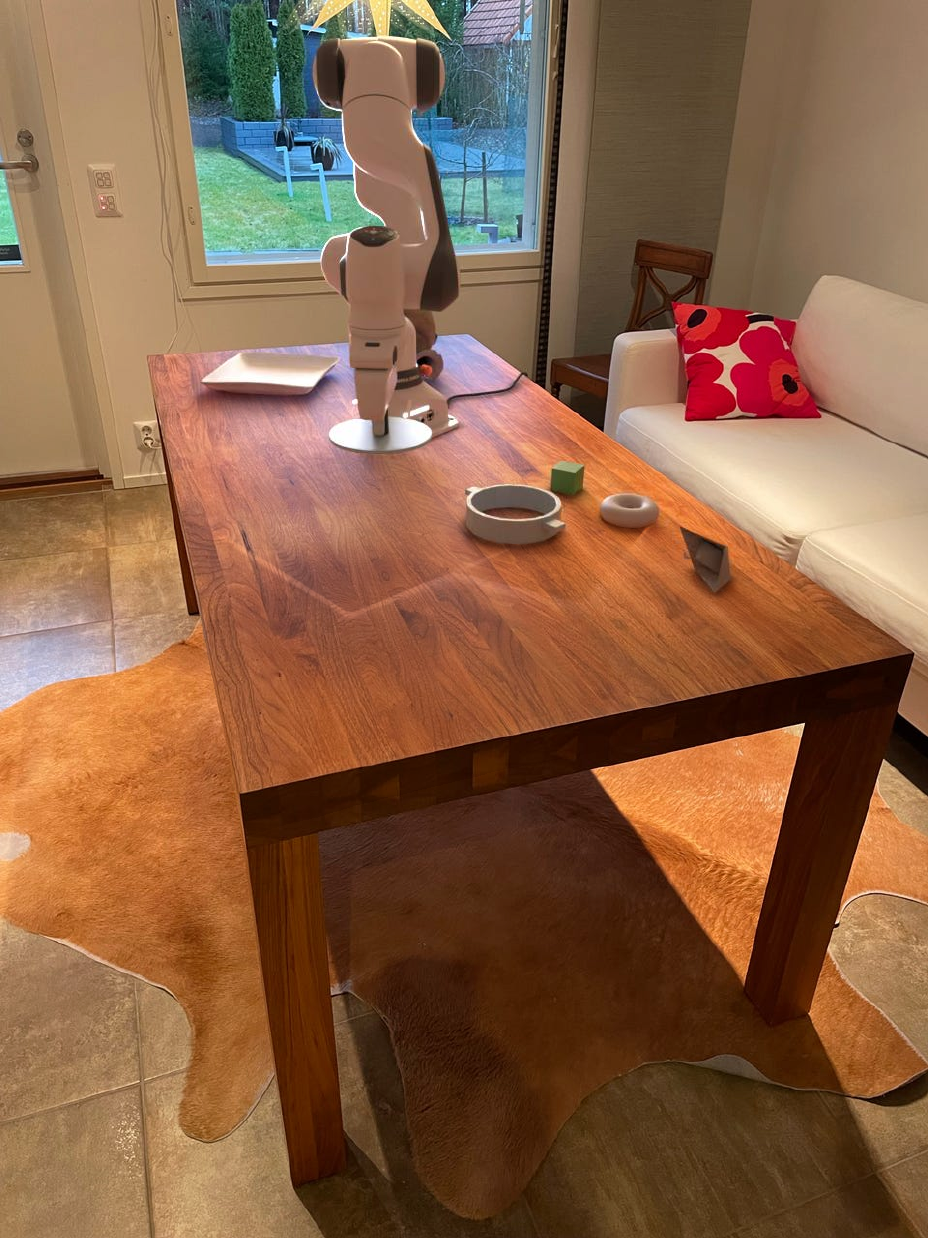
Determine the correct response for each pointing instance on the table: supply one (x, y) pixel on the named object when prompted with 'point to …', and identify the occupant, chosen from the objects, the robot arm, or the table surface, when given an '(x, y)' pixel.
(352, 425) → the pan lid
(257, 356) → the square plate
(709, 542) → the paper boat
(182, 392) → the table surface
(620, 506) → the donut
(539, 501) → the pan
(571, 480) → the block
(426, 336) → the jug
